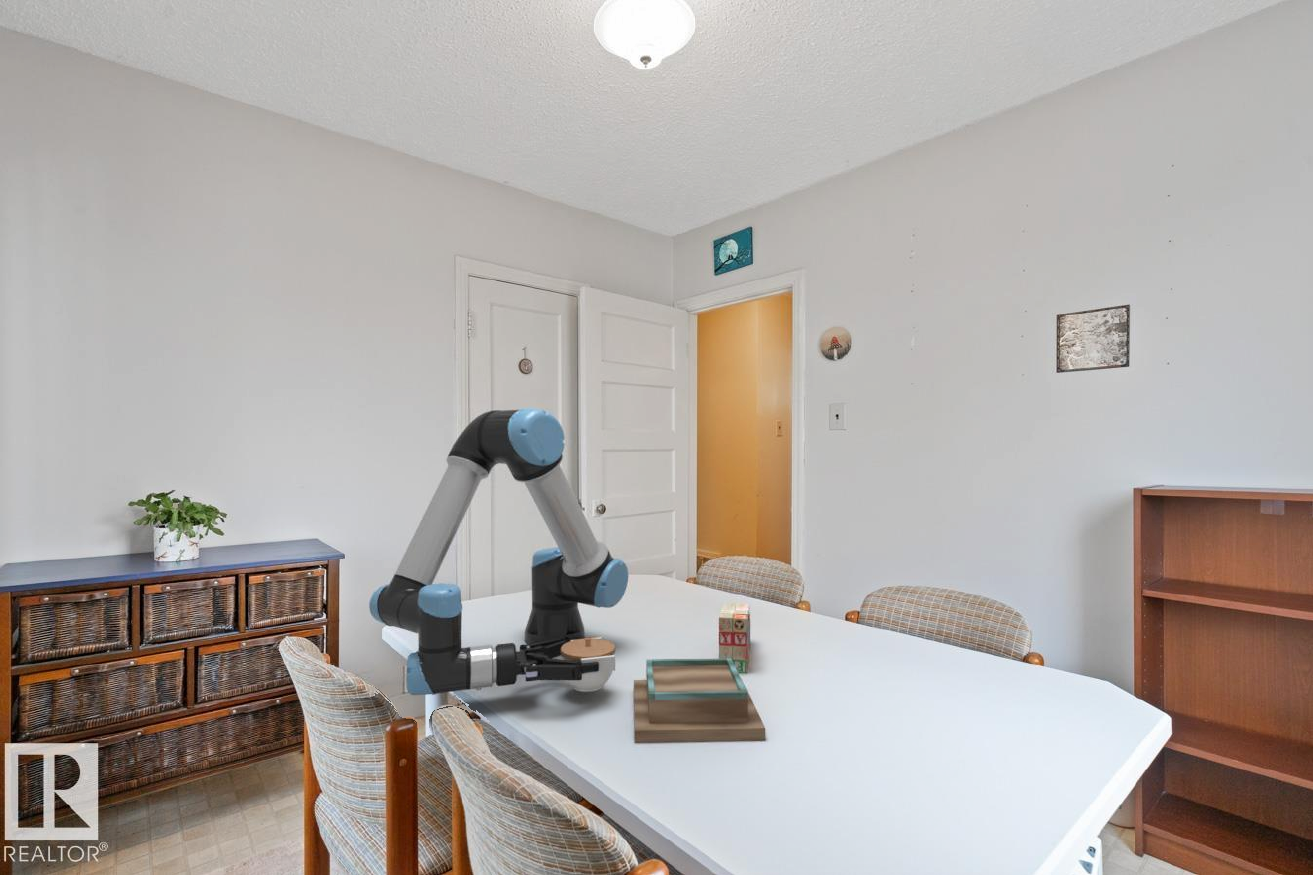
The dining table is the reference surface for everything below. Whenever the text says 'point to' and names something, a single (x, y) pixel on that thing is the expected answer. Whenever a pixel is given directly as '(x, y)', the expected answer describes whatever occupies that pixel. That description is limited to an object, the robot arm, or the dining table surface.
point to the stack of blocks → (735, 634)
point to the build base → (692, 728)
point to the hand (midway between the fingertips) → (608, 652)
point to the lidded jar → (588, 650)
